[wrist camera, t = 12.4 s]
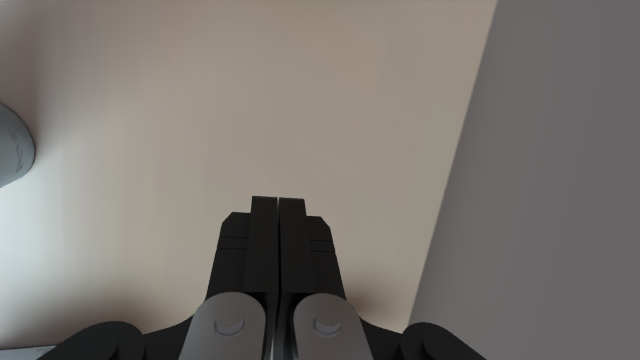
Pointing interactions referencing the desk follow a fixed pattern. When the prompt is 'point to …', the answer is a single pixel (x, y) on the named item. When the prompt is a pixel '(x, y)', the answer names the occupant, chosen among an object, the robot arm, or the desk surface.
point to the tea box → (24, 353)
